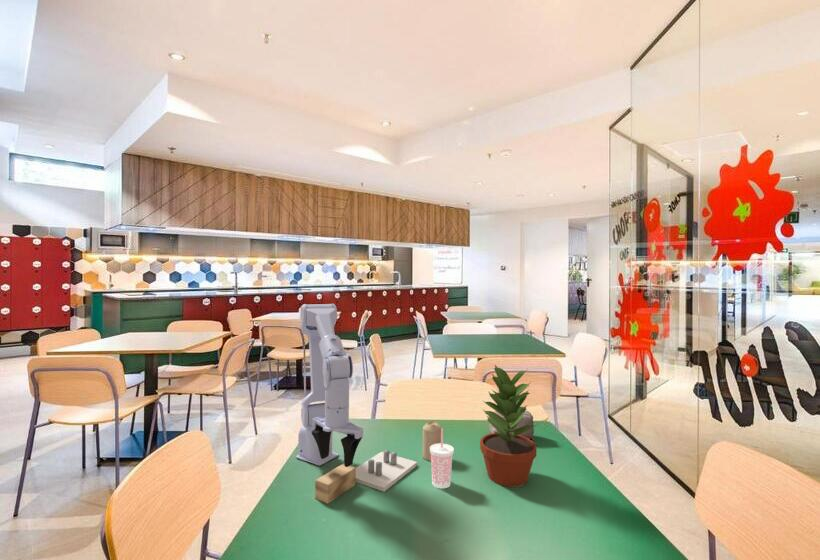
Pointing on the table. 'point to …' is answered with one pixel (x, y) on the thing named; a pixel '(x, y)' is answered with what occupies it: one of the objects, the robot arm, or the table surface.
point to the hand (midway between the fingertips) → (336, 461)
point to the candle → (430, 437)
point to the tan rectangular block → (335, 483)
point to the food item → (519, 424)
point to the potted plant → (508, 434)
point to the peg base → (383, 470)
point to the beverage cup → (441, 463)
